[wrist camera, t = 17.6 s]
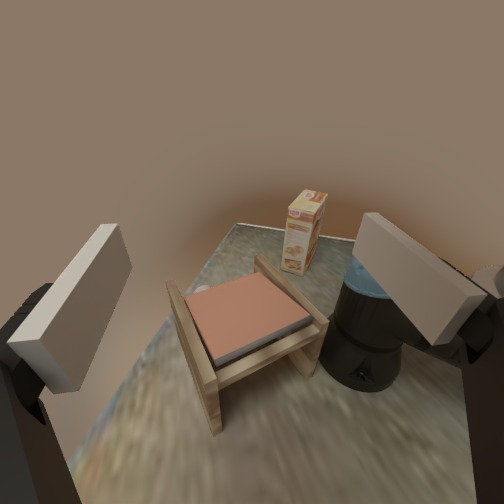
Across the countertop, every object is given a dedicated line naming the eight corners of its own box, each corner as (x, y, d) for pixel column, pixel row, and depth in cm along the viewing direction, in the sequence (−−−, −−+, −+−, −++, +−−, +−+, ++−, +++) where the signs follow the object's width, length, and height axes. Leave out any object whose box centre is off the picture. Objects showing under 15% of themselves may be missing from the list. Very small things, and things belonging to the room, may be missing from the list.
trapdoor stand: (258, 305, 57) (261, 253, 49) (312, 376, 43) (329, 321, 35) (178, 336, 49) (165, 281, 41) (213, 437, 35) (204, 384, 27)
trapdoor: (259, 276, 47) (259, 271, 47) (312, 322, 35) (313, 316, 34) (184, 301, 41) (183, 296, 41) (216, 368, 29) (215, 362, 28)
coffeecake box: (303, 277, 66) (315, 212, 55) (279, 269, 68) (286, 206, 58) (316, 251, 77) (329, 192, 66) (295, 245, 80) (304, 188, 69)
